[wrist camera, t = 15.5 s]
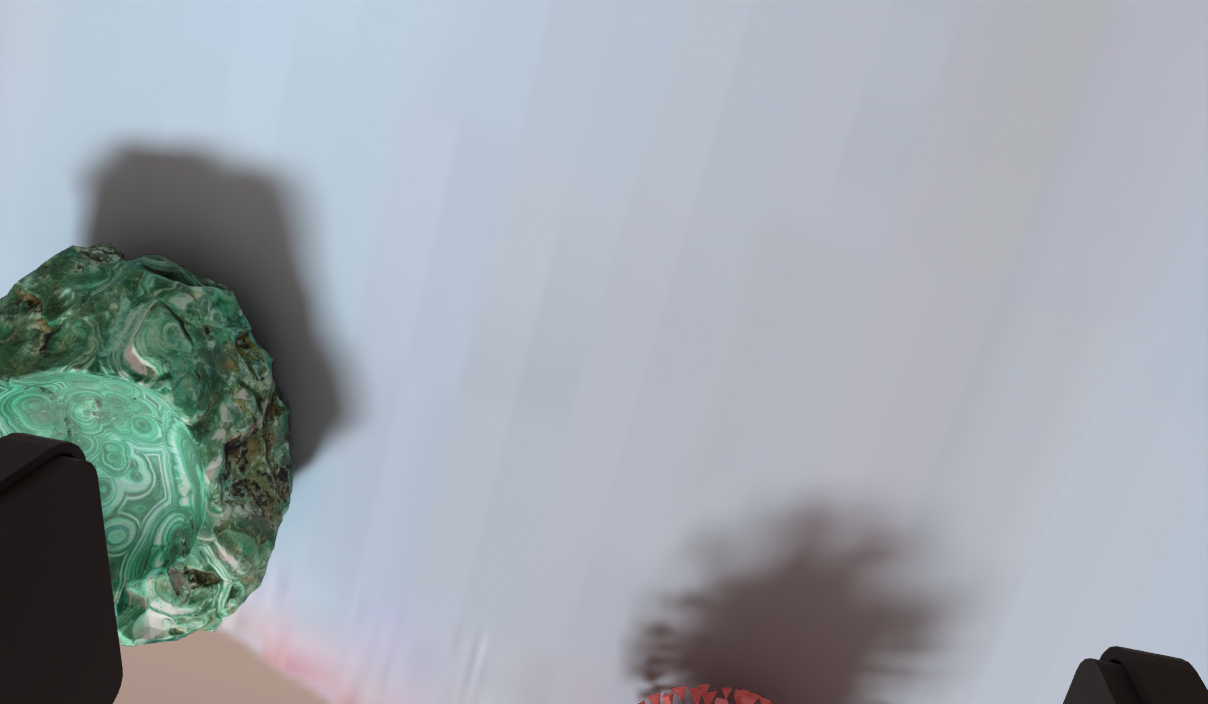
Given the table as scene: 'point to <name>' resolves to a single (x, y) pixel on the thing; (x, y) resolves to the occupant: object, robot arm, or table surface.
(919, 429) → the table surface
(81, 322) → the mineral
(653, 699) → the virus model
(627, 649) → the table surface
